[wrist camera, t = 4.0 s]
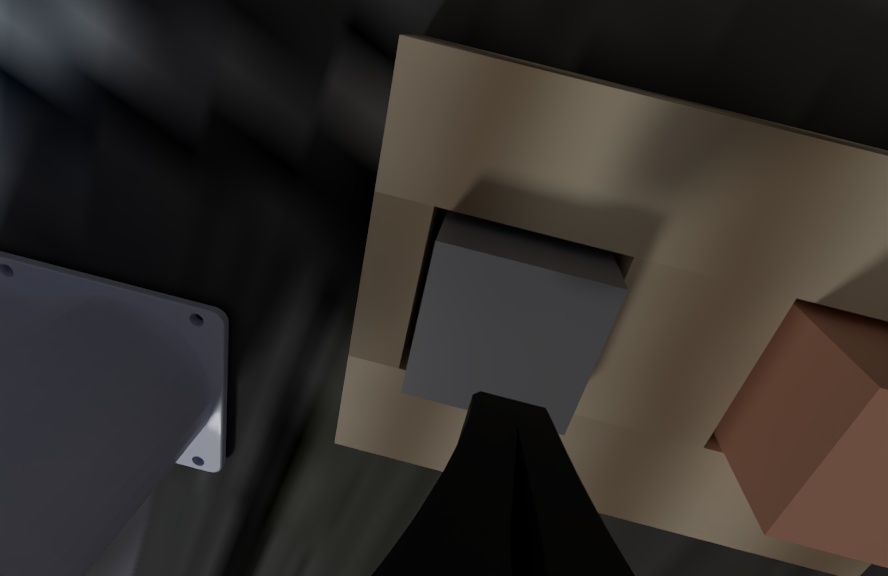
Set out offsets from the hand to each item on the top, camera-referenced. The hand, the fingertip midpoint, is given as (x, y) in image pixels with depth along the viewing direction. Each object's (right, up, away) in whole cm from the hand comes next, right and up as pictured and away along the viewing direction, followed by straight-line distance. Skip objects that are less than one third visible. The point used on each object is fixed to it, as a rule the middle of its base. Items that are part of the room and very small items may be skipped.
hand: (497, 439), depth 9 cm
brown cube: (+9, 0, +5) cm, 11 cm away
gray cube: (+1, +3, +6) cm, 7 cm away
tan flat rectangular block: (+5, +2, +7) cm, 9 cm away
